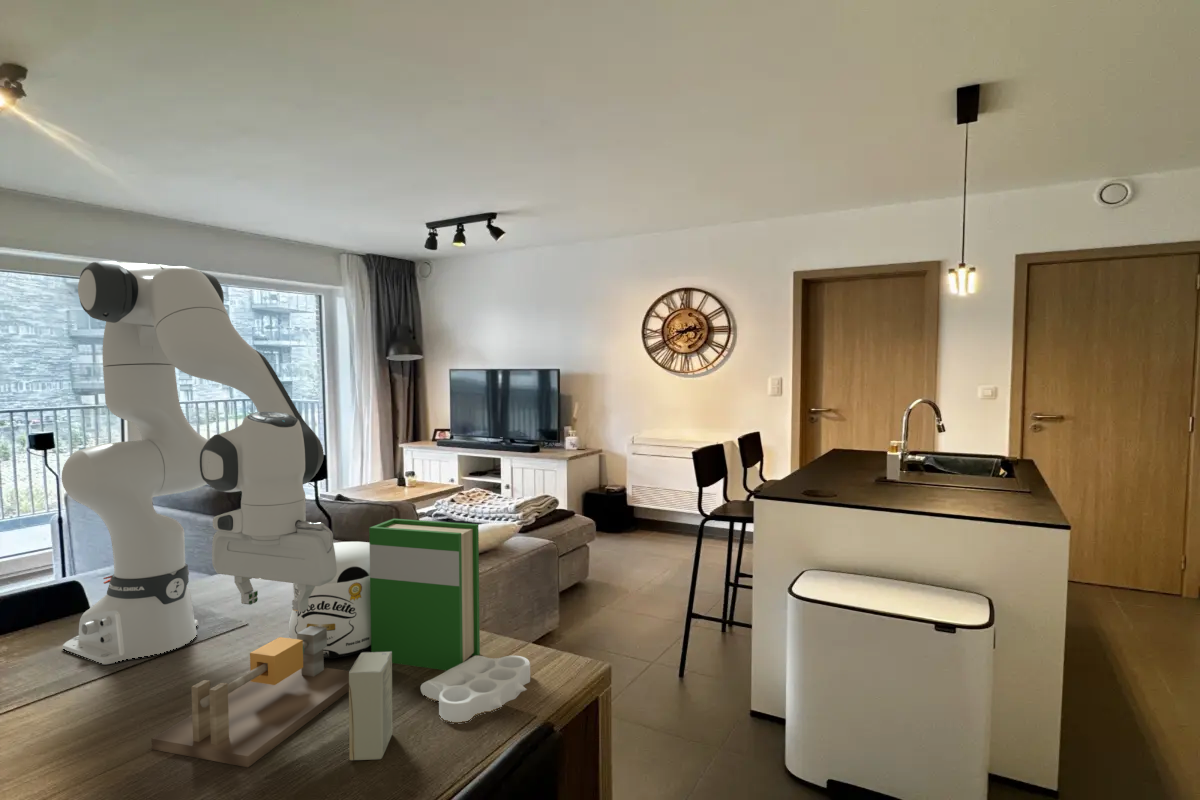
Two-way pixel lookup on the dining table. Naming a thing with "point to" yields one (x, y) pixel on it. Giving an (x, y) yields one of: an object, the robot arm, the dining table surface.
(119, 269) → the robot arm
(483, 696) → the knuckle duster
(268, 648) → the marker sleeve
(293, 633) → the milk container
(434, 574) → the hardback book
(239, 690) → the board
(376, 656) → the skincare box
